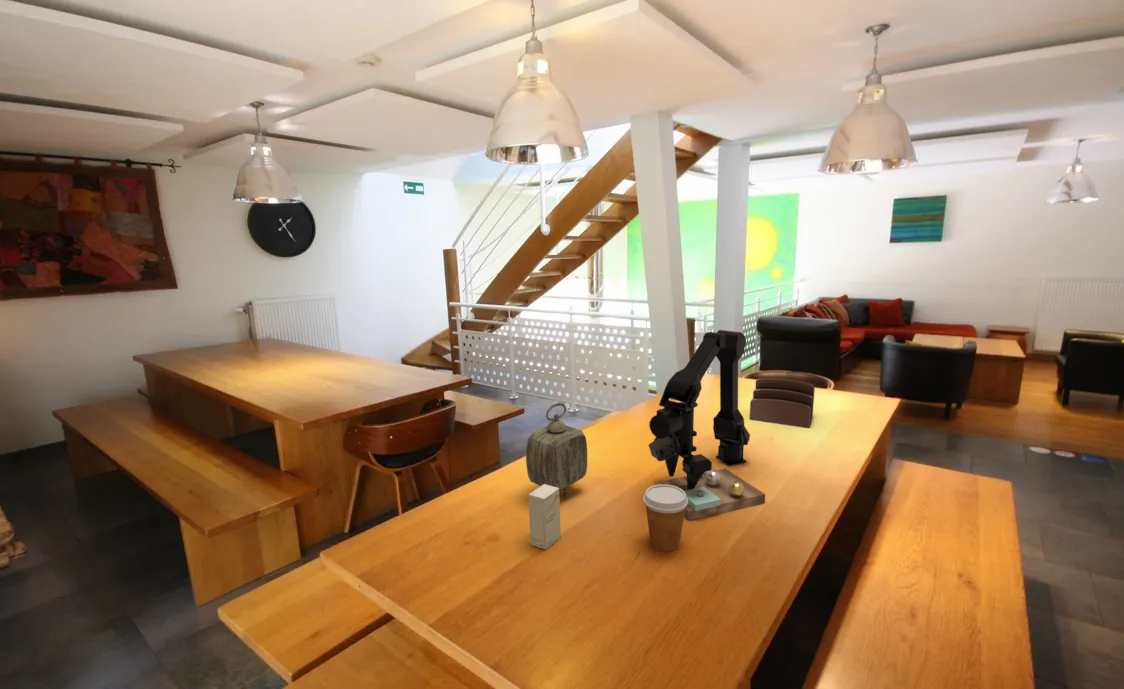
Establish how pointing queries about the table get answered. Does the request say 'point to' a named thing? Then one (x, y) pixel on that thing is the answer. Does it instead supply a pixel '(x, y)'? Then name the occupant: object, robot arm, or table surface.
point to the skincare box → (544, 516)
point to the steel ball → (713, 477)
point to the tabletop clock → (556, 454)
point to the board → (719, 494)
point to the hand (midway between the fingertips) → (680, 483)
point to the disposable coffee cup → (665, 515)
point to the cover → (701, 498)
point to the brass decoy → (736, 489)
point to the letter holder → (783, 402)
